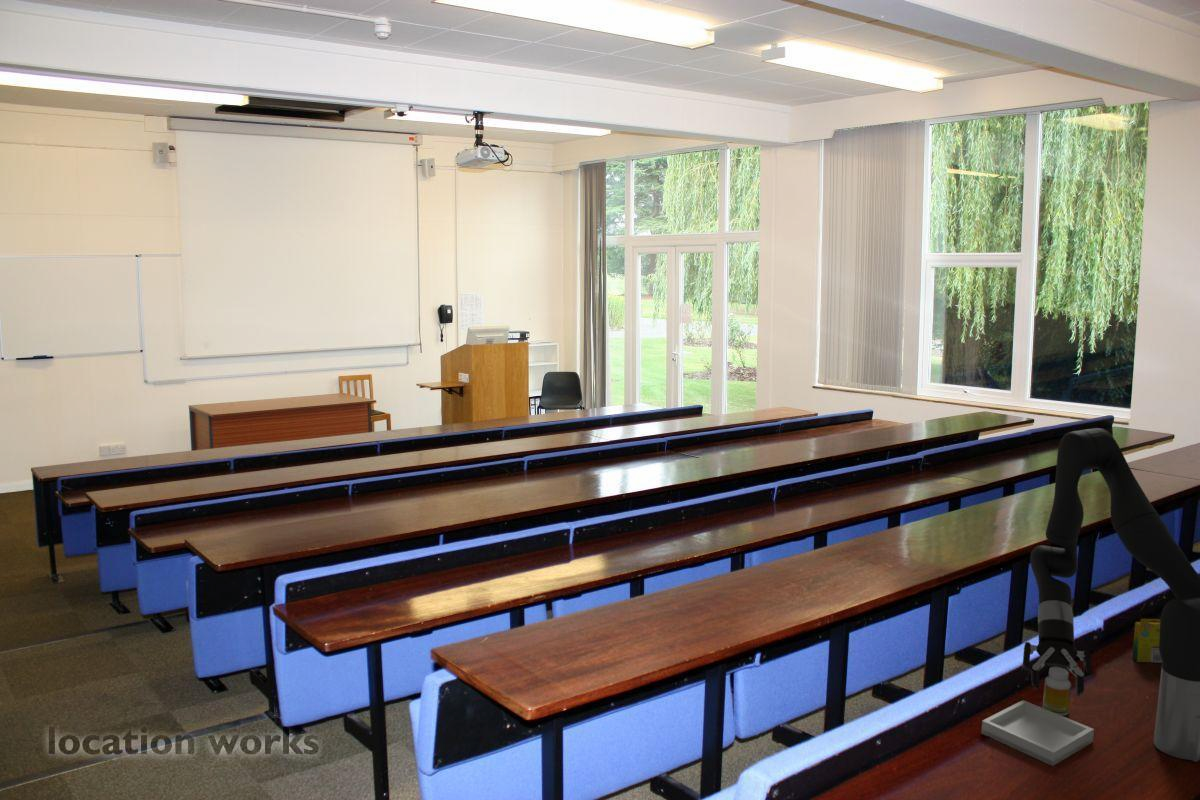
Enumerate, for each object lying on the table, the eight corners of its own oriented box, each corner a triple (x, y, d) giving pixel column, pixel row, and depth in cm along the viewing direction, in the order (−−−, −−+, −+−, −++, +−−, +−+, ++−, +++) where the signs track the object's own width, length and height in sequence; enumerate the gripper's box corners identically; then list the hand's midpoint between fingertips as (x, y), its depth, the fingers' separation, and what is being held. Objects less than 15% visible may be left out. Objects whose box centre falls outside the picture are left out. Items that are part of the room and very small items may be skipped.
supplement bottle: (1071, 717, 213) (1075, 676, 211) (1045, 715, 214) (1049, 674, 212) (1065, 706, 218) (1068, 666, 216) (1039, 703, 219) (1043, 664, 217)
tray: (1092, 742, 202) (1094, 729, 202) (1052, 766, 193) (1054, 752, 192) (1022, 712, 215) (1023, 700, 214) (981, 733, 206) (982, 720, 205)
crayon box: (1161, 658, 243) (1166, 615, 241) (1167, 663, 240) (1172, 620, 238) (1131, 657, 244) (1135, 614, 242) (1136, 662, 241) (1141, 618, 239)
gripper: (1024, 613, 222) (1025, 680, 214) (1092, 621, 218) (1095, 690, 209) (1021, 626, 228) (1021, 692, 219) (1086, 634, 224) (1089, 702, 215)
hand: (1057, 691), depth 214 cm, fingers open, 8 cm apart
